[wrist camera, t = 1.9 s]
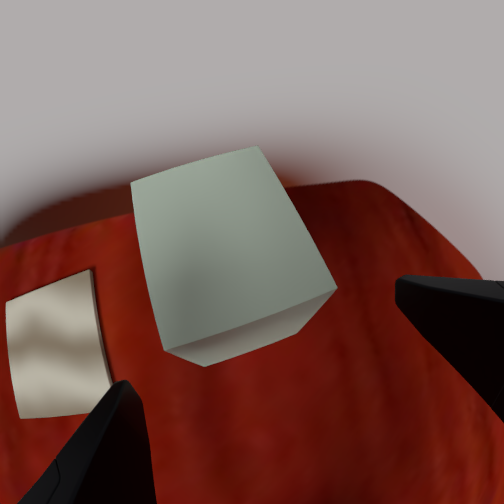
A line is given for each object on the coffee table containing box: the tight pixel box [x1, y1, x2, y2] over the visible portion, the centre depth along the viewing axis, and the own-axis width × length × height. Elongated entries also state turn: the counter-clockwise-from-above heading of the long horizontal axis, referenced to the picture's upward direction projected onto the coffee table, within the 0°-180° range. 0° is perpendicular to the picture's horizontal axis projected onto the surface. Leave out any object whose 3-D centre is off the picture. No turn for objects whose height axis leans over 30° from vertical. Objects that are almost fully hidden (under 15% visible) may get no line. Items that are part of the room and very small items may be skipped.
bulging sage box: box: [131, 146, 337, 367], centre depth 16 cm, size 9×7×10 cm
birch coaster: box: [6, 269, 113, 418], centre depth 18 cm, size 12×12×1 cm
